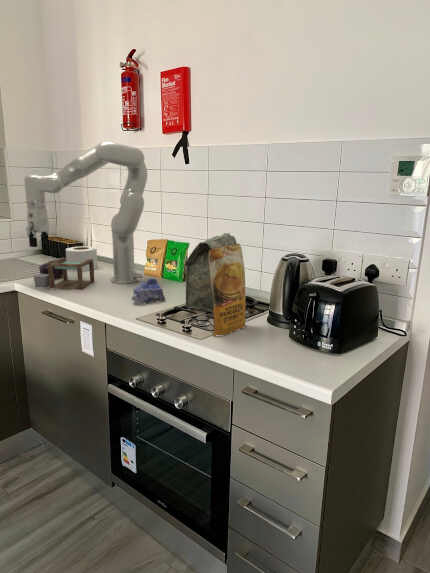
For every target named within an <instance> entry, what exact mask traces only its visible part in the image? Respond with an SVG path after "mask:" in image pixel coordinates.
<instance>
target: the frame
mask: <svg viewBox="0 0 430 573" xmlns="http://www.w3.org/2000/svg"><path fill="white" fill-rule="evenodd" d="M54 260H55V261H53V260H52V261H53V262H51V263H49V266H48V272H49V285H50V286H49V289H54V290H73V291H74V290H75V291H83V290H85V288H87V287H89V286H90V285H92V284H94V283H95V270H94V262H93V259H88V260H86V261H84V262H82V263H80V264H62V263H64V262H66V261H67V259H66V257H61V258H58V260H57V259H54ZM60 262H62V263H60ZM67 262H72V261H67ZM86 264H89V270H90V271H89V280H87V279H84V278H83V271H82V266H84V265H86ZM53 266H61V267H77V271H76V273H77V279H68V278H69V277H68V270H67V269H62V270H63V275H62V280H60V281H58V282H56V283H55V278H54V272H53Z"/></svg>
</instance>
